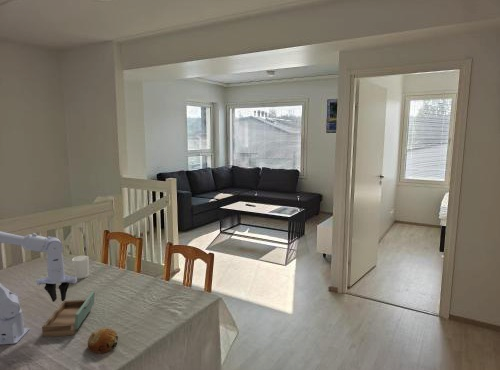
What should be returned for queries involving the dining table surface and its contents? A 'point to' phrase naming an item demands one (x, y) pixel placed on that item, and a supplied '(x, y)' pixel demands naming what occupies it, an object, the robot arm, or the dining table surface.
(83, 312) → the panel
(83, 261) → the white cup
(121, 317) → the dining table surface
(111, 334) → the bread roll
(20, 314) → the robot arm
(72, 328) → the tray
